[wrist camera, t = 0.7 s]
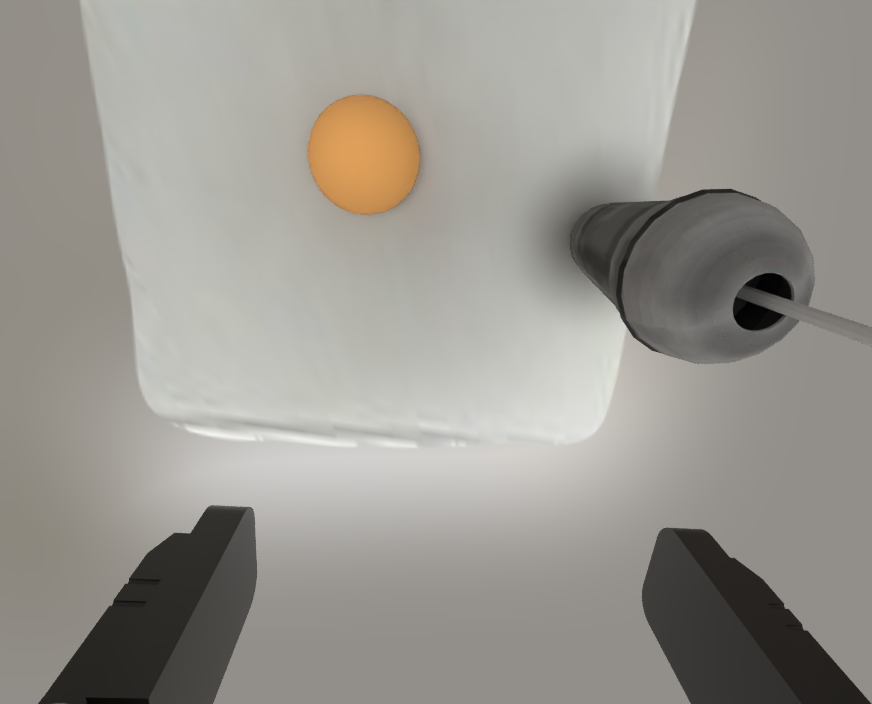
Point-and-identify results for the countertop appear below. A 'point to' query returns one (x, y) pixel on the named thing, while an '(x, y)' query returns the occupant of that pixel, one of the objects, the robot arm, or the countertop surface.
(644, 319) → the beverage cup
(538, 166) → the countertop surface
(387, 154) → the ball
